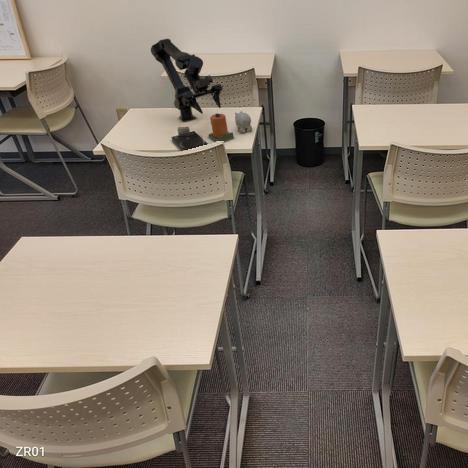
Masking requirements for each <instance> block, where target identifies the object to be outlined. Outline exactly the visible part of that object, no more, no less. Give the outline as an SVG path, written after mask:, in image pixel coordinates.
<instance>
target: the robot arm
mask: <svg viewBox="0 0 468 468" xmlns="http://www.w3.org/2000/svg"><path fill="white" fill-rule="evenodd" d="M150 54H151V55H152V56H153V58H154V59H155V61H157V62H158V63H160V64H161V65H162V67H163V69H164V71H165V73H166V75H167V77H168V79H169V81H170V83H171V85H172V88H174V98H175V99H174V102H173V105H174V108H175V109H177V110H179V113H180V116H179V117H178V118H179V119H180V120H181V121H182V122H187V121H192V120H196V116H195V115H194V114H193V110H192V108H193V109H194V110H196V111H197V112H198V113H199V114H204V112H203V110H202V108H201V106H200V104H199V103H198V101H197V99H198V98H200V97H201V98H202V97H204V96H208V95H211V96H212V99H213V101H214V103H215V105H216V106H217V107H218V109H221V107H222V106H221V100H220V95H221V93H222V91H223V89H224V86H222V84H220V83H216V84H213V85H212V83H213V82H214V80H213V77H212V76H211V74H209V75H206V76H205V78H203V77H201V75H200V73H201V72H202V68H203V66H204V61H203V59H202V58H201V57H199V56H196V55H195V53H194V54H189V53H188V52H186V51H185V52H184V51H181V50H180V49H179V48H178V47H177V46H176V45H175V44H174V43H173V42H172V41H171V39H170V38H164V39H160V40H158V42H156V43H154V44H152V45H151V47H150ZM172 59H173V60H174V62H173V61H172ZM174 64H175V65H174ZM175 66H176V67H175ZM177 68H178V70H180V71H183V70H184V72H183V78H184V79H186V80H187V82H188V84H189V85H190V86H188V85H187V86H186V85H185V84H184V82H183V80H182V79H181V76H180V75H179V73H178V71H177ZM209 86H211V88H209Z"/></svg>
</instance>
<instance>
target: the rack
mask: <svg viewBox="0 0 468 468" xmlns="http://www.w3.org/2000/svg"><path fill="white" fill-rule="evenodd" d="M207 136H208V139H210V140H211V141H213V142H215V143H216V141H224V142H223V143H225V142H228V141H232V140H235V137H234V132H233V131H232V132H229V131H228V134H225V135H223V136H220V137H215V136H213V132H210V133H208V134H207Z"/></svg>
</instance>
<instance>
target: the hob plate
mask: <svg viewBox="0 0 468 468" xmlns="http://www.w3.org/2000/svg"><path fill="white" fill-rule="evenodd" d="M201 138H202V137H201ZM201 138H189V139H186V140H184V141H182V142H181V143H180V146H181V147H182V148H186V149H192V148H196V147H199V146H202V145H203V144H204V143H205V141H206V140H205V139H203V138H202V139H201ZM204 140H205V141H204Z"/></svg>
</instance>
